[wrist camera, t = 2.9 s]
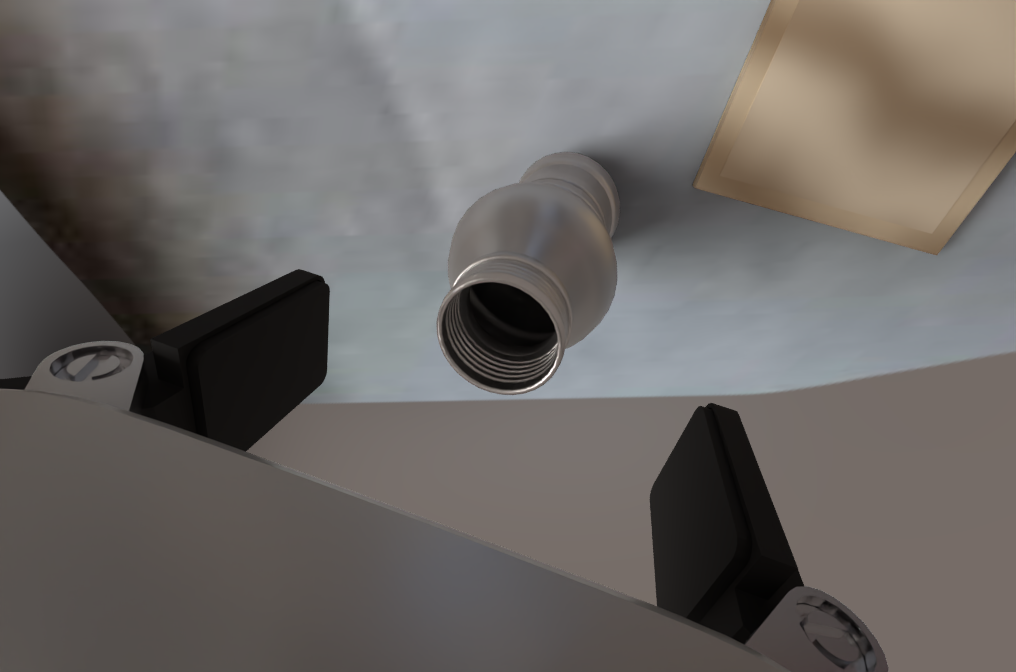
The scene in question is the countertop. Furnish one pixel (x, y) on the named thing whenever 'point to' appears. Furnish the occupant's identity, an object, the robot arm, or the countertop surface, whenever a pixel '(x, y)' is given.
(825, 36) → the oak board
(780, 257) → the countertop surface
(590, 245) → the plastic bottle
